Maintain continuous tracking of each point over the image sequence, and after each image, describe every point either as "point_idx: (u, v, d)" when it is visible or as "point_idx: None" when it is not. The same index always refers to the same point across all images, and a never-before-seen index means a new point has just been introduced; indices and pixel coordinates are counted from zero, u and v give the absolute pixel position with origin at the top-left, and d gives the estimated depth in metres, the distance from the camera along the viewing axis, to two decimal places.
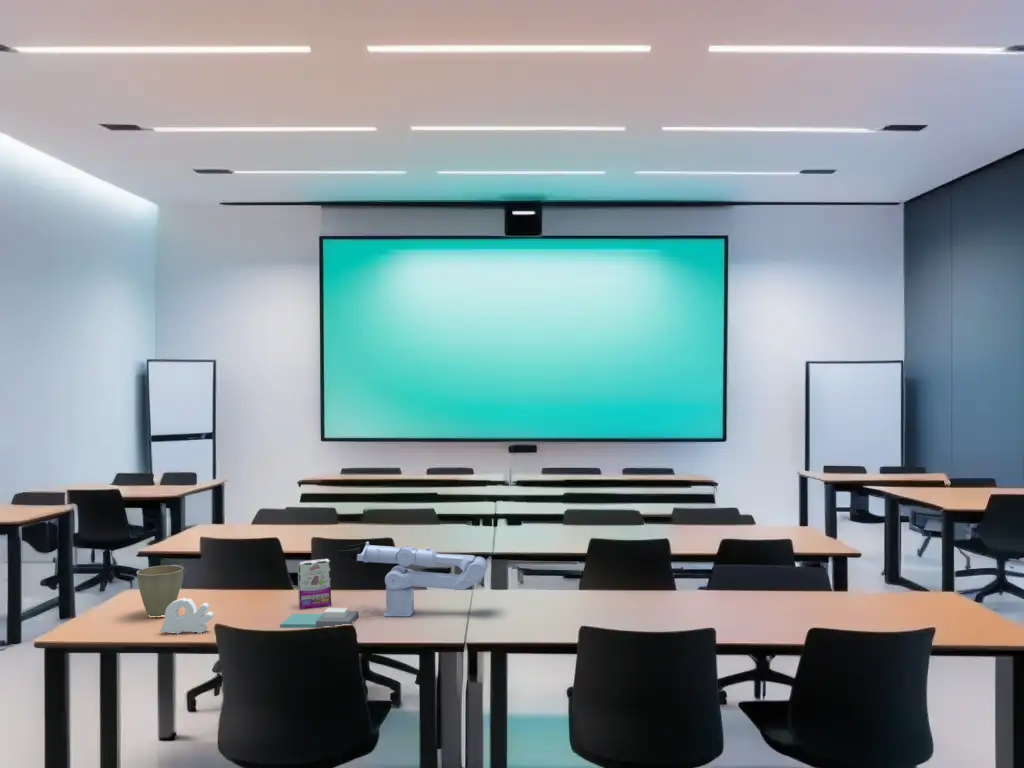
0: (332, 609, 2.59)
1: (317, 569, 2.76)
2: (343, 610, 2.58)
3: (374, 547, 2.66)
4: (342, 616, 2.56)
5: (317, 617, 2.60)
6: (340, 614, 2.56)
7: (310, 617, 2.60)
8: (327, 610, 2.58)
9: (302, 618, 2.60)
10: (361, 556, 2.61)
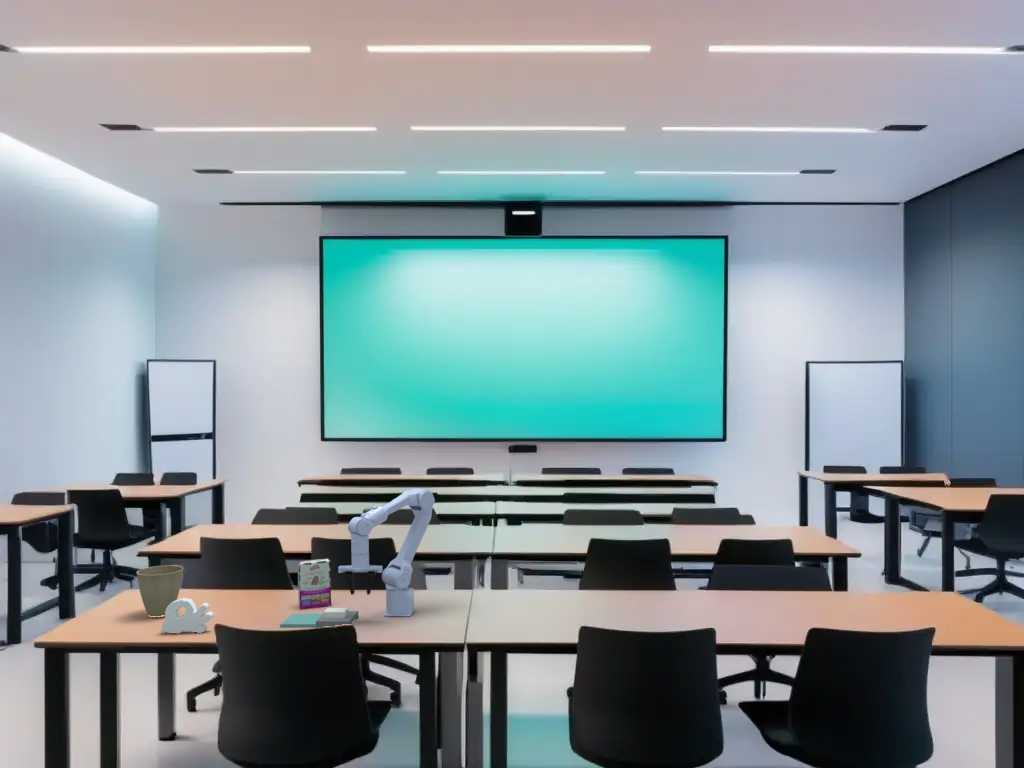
0: (332, 609, 2.59)
1: (317, 569, 2.76)
2: (343, 610, 2.58)
3: (362, 560, 2.55)
4: (342, 616, 2.56)
5: (317, 617, 2.60)
6: (340, 614, 2.56)
7: (310, 617, 2.60)
8: (327, 610, 2.58)
9: (302, 618, 2.60)
10: (381, 568, 2.57)
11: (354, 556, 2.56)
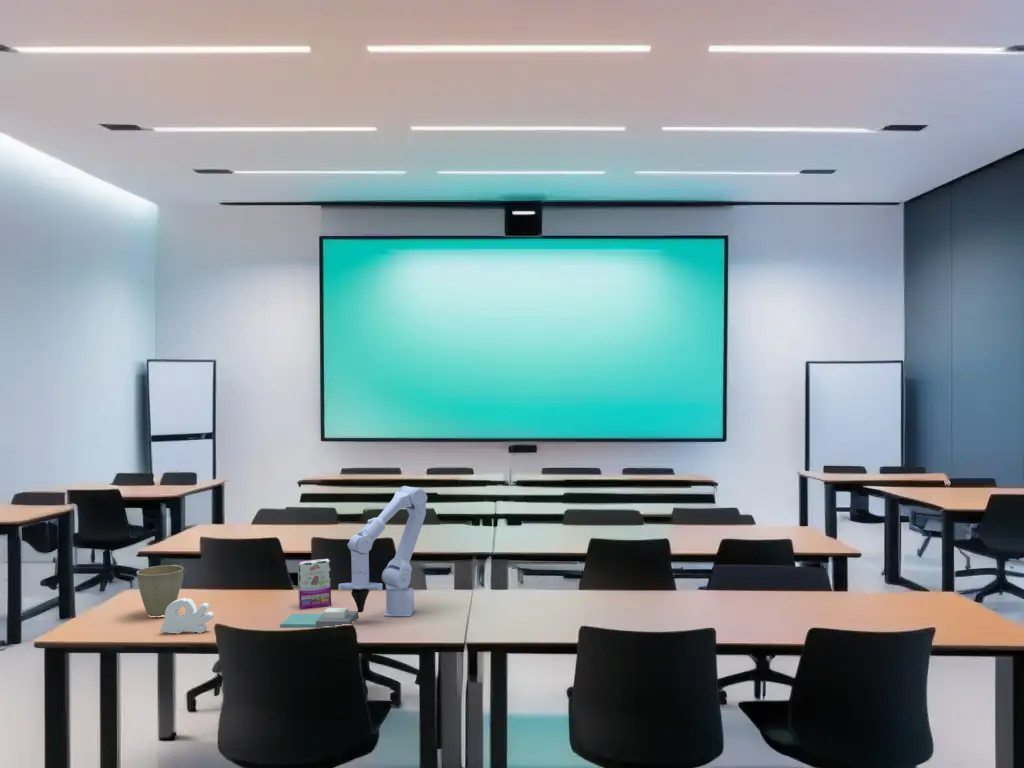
0: (332, 609, 2.59)
1: (317, 569, 2.76)
2: (343, 610, 2.58)
3: (362, 578, 2.55)
4: (342, 616, 2.56)
5: (317, 617, 2.60)
6: (340, 614, 2.56)
7: (310, 617, 2.60)
8: (327, 610, 2.58)
9: (302, 618, 2.60)
10: (381, 585, 2.57)
11: (354, 574, 2.55)
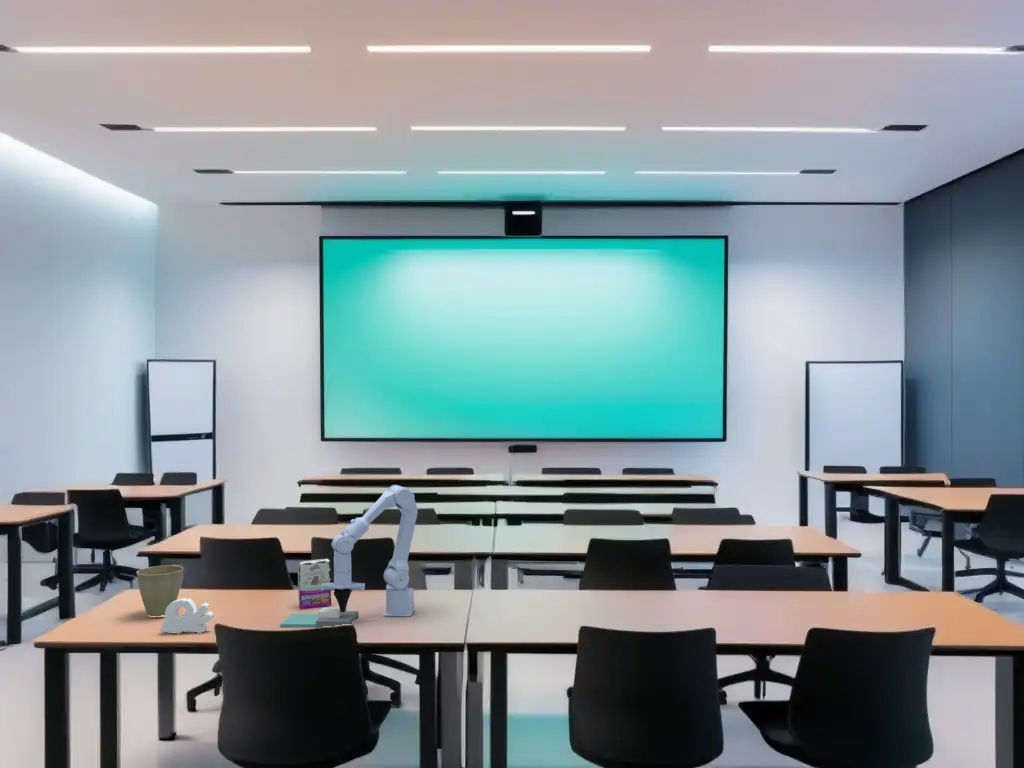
0: (327, 609, 2.59)
1: (317, 569, 2.76)
2: (338, 610, 2.58)
3: (344, 578, 2.56)
4: (337, 616, 2.56)
5: (317, 617, 2.60)
6: (335, 614, 2.56)
7: (310, 617, 2.60)
8: (322, 610, 2.58)
9: (302, 618, 2.60)
10: (363, 585, 2.57)
11: (336, 574, 2.56)
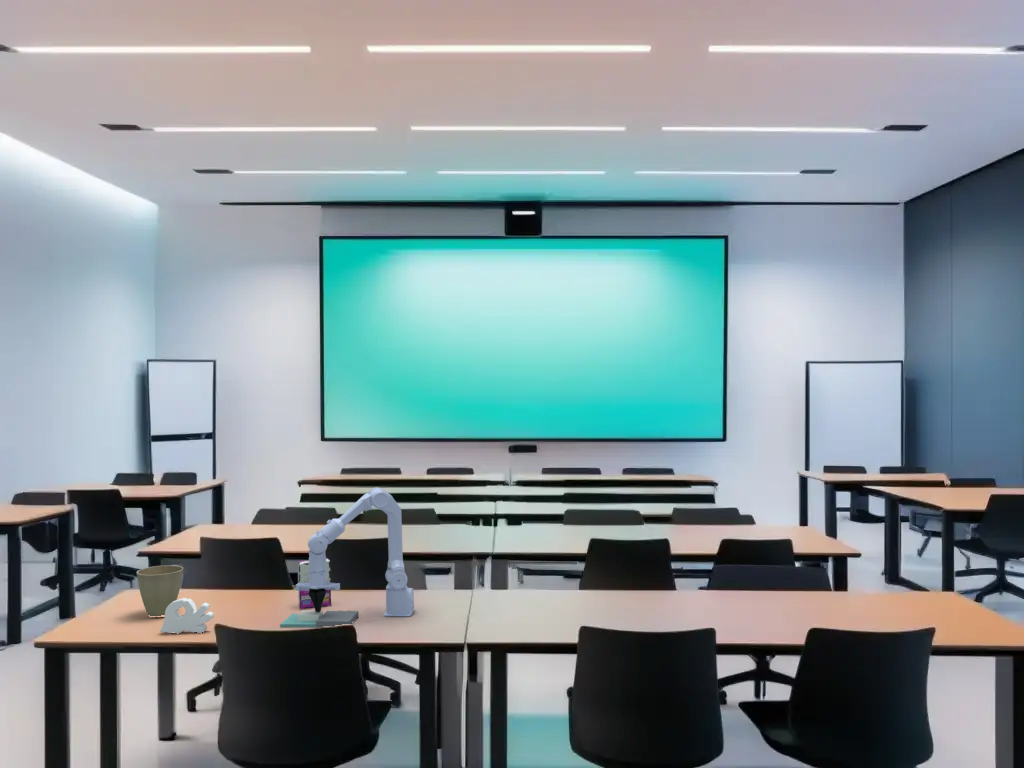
0: (306, 612, 2.60)
1: None
2: (317, 613, 2.58)
3: (319, 578, 2.56)
4: (316, 619, 2.56)
5: None
6: (314, 617, 2.56)
7: None
8: (301, 613, 2.59)
9: None
10: (338, 585, 2.58)
11: (311, 574, 2.56)
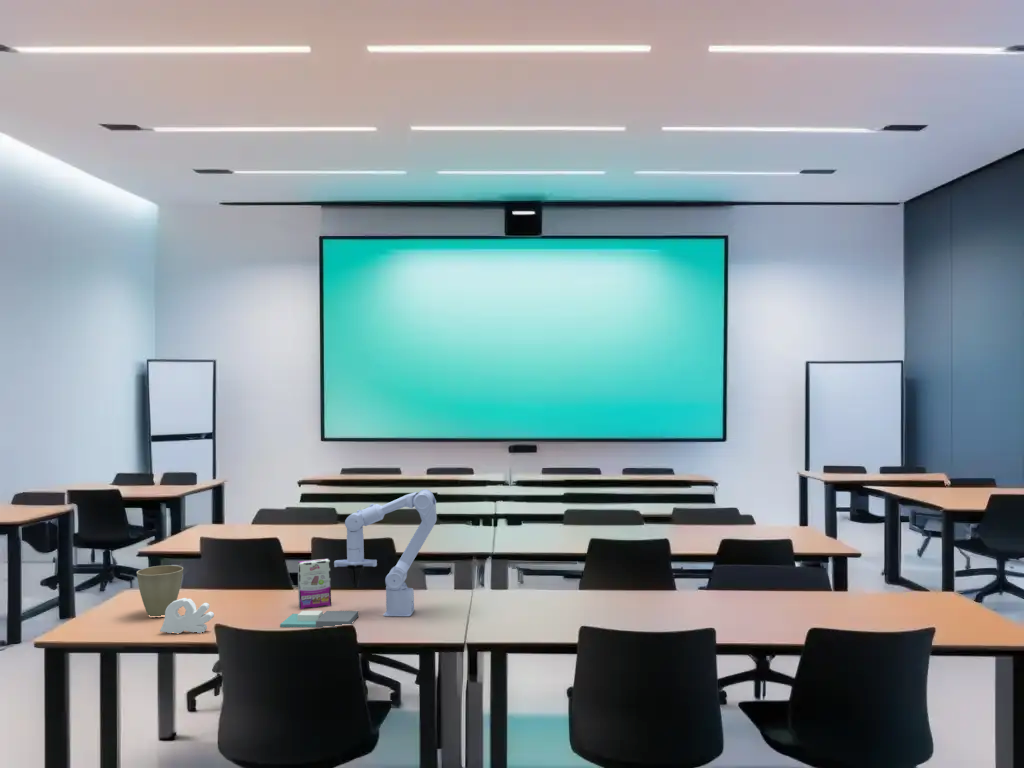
0: (306, 612, 2.60)
1: (317, 569, 2.76)
2: (317, 613, 2.58)
3: (357, 554, 2.65)
4: (316, 619, 2.56)
5: None
6: (314, 617, 2.56)
7: None
8: (301, 613, 2.59)
9: None
10: (375, 561, 2.67)
11: (349, 550, 2.65)
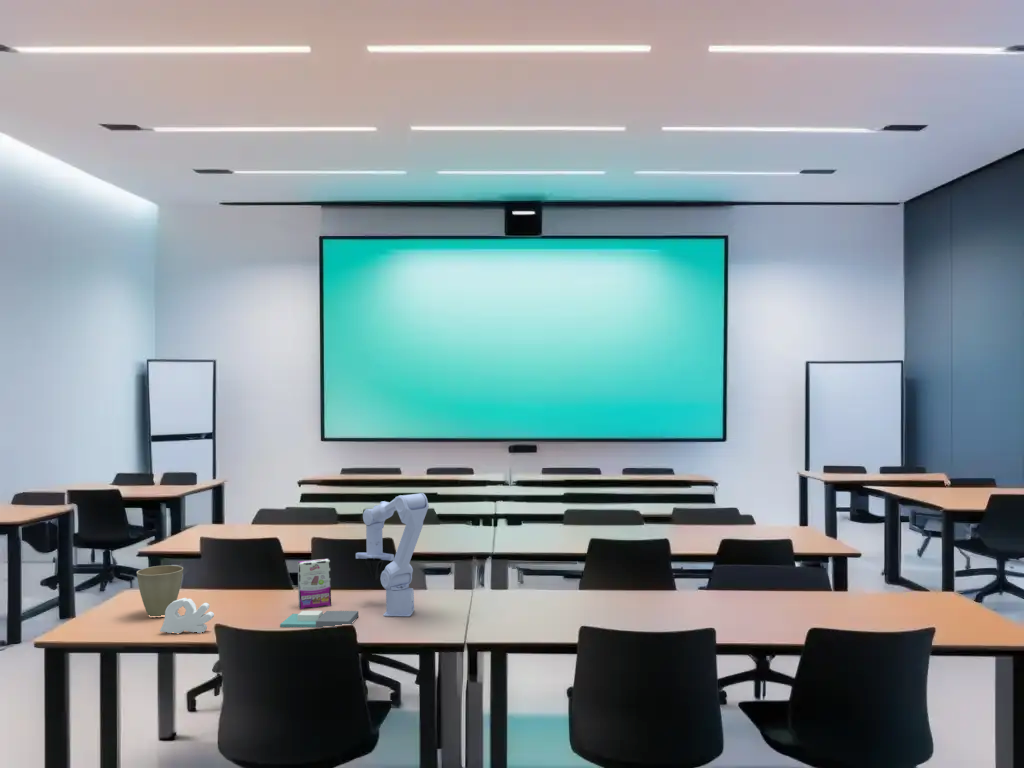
0: (306, 612, 2.60)
1: (317, 569, 2.76)
2: (317, 613, 2.58)
3: (374, 548, 2.75)
4: (316, 619, 2.56)
5: None
6: (314, 617, 2.56)
7: None
8: (301, 613, 2.59)
9: None
10: (392, 556, 2.75)
11: (367, 544, 2.76)
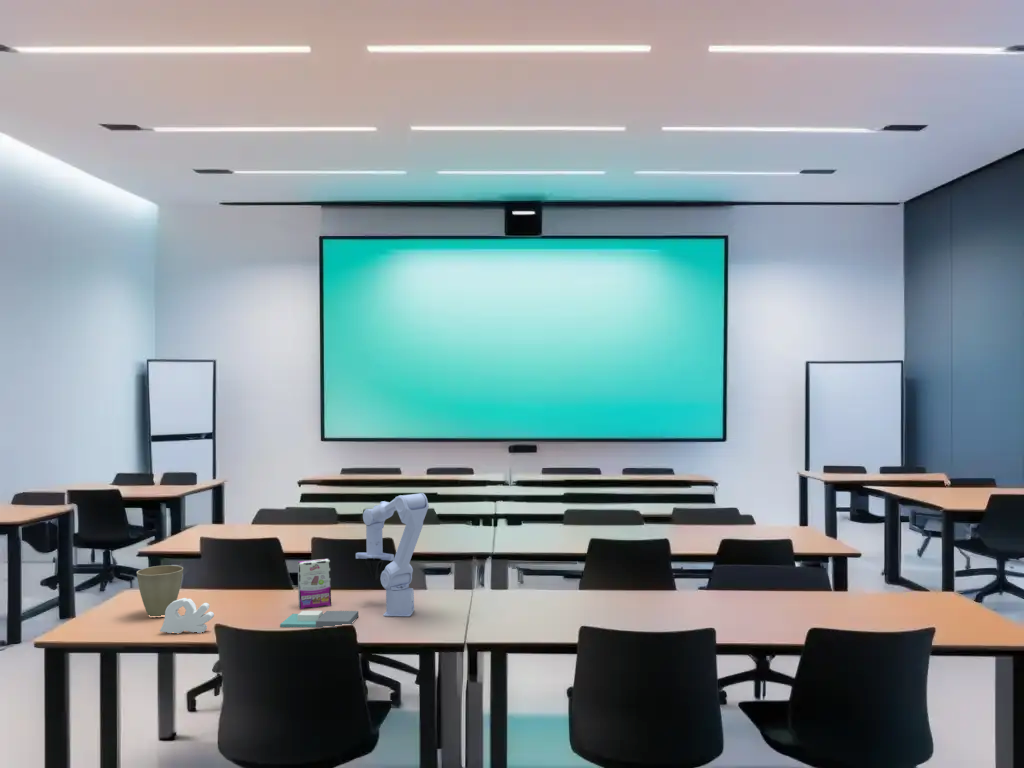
0: (306, 612, 2.60)
1: (317, 569, 2.76)
2: (317, 613, 2.58)
3: (374, 548, 2.75)
4: (316, 619, 2.56)
5: None
6: (314, 617, 2.56)
7: None
8: (301, 613, 2.59)
9: None
10: (392, 556, 2.75)
11: (367, 544, 2.76)
